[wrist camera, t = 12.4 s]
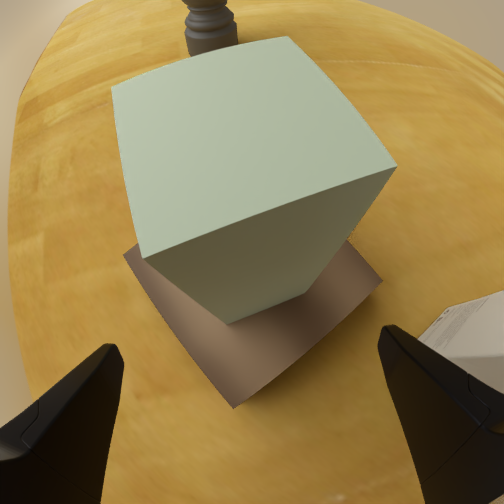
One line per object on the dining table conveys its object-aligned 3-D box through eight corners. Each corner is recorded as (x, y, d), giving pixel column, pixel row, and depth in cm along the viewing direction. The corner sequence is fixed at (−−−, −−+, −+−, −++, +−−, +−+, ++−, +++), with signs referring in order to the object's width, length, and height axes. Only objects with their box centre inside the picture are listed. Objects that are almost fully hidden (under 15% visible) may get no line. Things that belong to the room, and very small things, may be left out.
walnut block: (237, 400, 18) (233, 409, 15) (139, 267, 21) (122, 255, 18) (367, 290, 20) (382, 280, 18) (262, 176, 24) (262, 154, 21)
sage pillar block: (226, 324, 17) (142, 258, 5) (198, 249, 18) (111, 86, 6) (305, 292, 17) (397, 165, 5) (272, 221, 19) (287, 35, 7)
